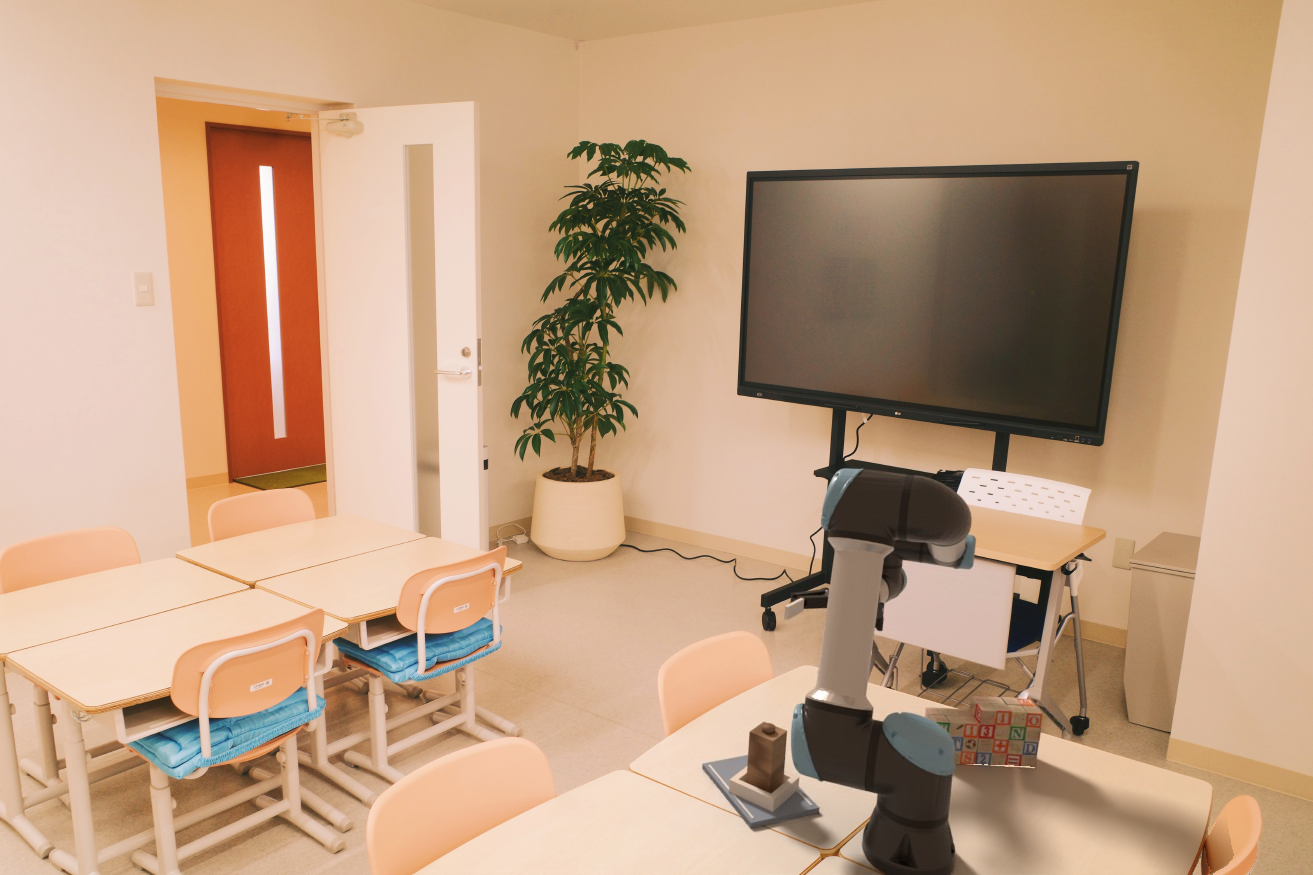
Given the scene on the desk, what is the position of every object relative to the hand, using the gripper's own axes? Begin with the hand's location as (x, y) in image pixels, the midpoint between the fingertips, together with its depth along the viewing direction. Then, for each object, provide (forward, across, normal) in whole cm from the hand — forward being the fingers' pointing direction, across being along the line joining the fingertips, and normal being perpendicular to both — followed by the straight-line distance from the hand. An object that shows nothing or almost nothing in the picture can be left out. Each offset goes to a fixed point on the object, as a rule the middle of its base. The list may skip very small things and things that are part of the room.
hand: (817, 621), depth 171 cm
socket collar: (+15, +1, -30) cm, 34 cm away
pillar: (+15, 0, -29) cm, 33 cm away
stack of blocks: (-25, -26, -30) cm, 47 cm away
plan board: (+14, +2, -30) cm, 33 cm away
